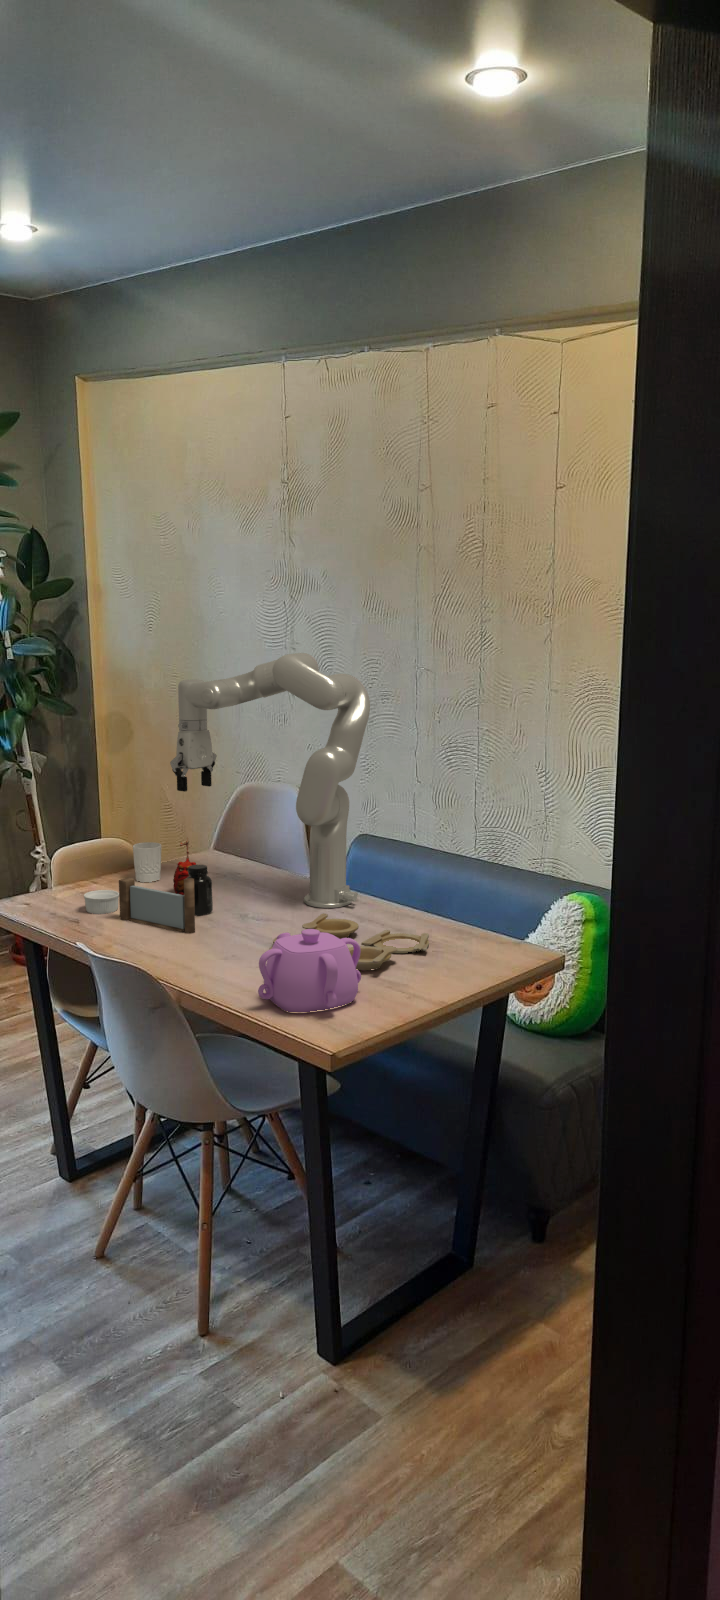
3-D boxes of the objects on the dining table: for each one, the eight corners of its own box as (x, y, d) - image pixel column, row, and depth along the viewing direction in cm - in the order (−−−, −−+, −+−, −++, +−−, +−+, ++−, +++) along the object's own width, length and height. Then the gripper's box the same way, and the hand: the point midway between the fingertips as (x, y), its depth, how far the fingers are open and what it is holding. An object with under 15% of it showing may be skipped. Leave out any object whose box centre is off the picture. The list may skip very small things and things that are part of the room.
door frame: (198, 931, 268) (197, 878, 266) (189, 934, 266) (188, 881, 264) (128, 916, 280) (126, 865, 278) (120, 919, 278) (118, 868, 275)
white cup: (138, 875, 320) (137, 841, 318) (165, 876, 319) (164, 842, 317) (130, 882, 312) (129, 848, 310) (157, 883, 311) (156, 848, 309)
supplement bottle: (203, 907, 289) (202, 861, 287) (217, 913, 284) (217, 867, 282) (180, 911, 285) (179, 865, 282) (194, 917, 279) (193, 871, 277)
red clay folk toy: (171, 897, 298) (170, 842, 295) (176, 890, 305) (175, 836, 302) (199, 897, 298) (198, 842, 295) (204, 890, 305) (203, 836, 302)
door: (190, 926, 270) (189, 894, 269) (183, 929, 268) (182, 896, 267) (138, 915, 279) (137, 884, 278) (130, 917, 277) (129, 886, 275)
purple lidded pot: (333, 1023, 212) (334, 950, 210) (237, 1006, 220) (236, 936, 218) (371, 991, 230) (372, 923, 227) (281, 976, 238) (280, 911, 235)
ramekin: (88, 905, 290) (87, 889, 289) (122, 905, 290) (122, 889, 289) (80, 915, 281) (80, 898, 280) (116, 915, 281) (115, 898, 281)
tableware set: (443, 943, 262) (444, 927, 261) (394, 982, 236) (395, 964, 235) (310, 924, 276) (310, 908, 275) (250, 958, 250) (250, 941, 249)
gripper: (181, 730, 292) (183, 794, 295) (224, 723, 306) (225, 785, 309) (160, 728, 296) (162, 791, 299) (204, 722, 310) (205, 782, 313)
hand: (194, 788), depth 304 cm, fingers open, 9 cm apart
